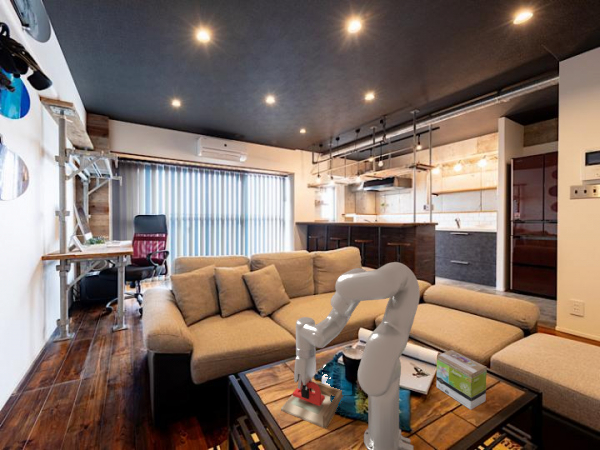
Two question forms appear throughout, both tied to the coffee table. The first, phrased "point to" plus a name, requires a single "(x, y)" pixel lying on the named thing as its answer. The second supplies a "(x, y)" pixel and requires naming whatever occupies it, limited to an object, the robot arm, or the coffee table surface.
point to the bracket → (311, 394)
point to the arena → (315, 406)
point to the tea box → (461, 378)
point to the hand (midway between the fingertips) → (306, 395)
